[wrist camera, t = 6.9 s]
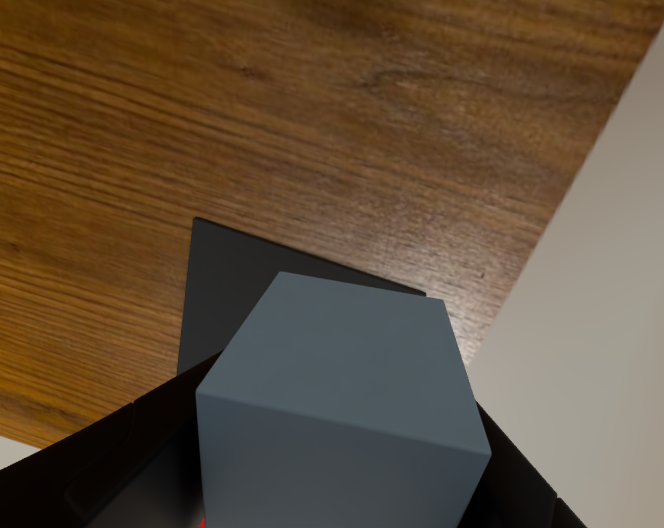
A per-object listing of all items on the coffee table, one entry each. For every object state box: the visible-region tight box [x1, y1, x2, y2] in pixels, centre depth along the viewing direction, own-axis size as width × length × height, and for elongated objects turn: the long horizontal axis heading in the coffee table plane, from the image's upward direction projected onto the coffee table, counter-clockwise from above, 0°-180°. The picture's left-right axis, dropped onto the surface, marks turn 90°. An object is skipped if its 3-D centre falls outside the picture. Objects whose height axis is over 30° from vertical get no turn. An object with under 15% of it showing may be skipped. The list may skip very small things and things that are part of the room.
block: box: [196, 272, 491, 528], centre depth 7 cm, size 4×4×4 cm
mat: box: [177, 217, 426, 376], centre depth 27 cm, size 16×24×1 cm, turn 164°
